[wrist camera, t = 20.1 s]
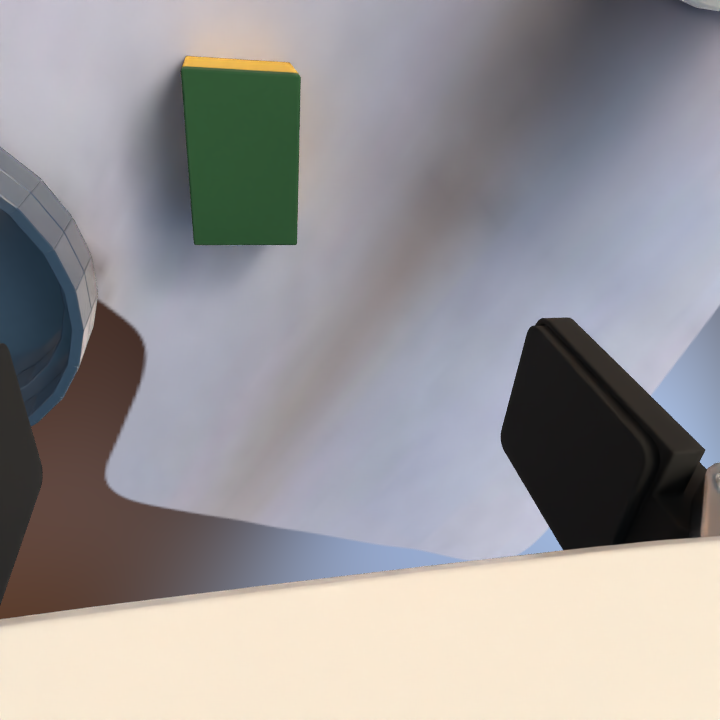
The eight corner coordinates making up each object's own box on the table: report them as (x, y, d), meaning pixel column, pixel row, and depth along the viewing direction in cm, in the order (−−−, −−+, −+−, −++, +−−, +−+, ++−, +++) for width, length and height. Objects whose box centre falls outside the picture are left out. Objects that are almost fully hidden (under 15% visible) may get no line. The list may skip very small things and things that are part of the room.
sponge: (185, 55, 25) (180, 68, 22) (290, 62, 26) (300, 75, 23) (196, 214, 29) (194, 245, 26) (288, 215, 30) (297, 245, 27)
